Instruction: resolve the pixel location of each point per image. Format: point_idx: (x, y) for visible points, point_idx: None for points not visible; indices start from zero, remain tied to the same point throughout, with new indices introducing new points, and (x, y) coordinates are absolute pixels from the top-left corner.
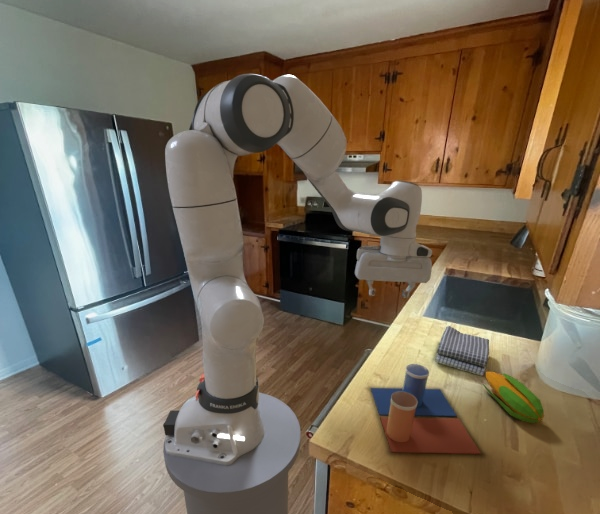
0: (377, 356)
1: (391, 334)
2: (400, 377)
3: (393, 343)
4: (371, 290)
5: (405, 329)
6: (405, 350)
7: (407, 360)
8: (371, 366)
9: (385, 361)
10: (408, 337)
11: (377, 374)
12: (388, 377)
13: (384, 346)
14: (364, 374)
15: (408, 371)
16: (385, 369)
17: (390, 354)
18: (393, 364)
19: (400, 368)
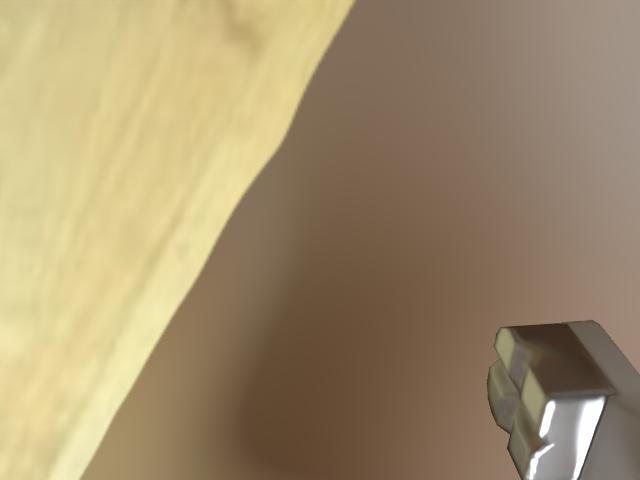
0: (213, 216)
1: (107, 420)
2: (107, 11)
3: (106, 343)
4: (631, 381)
5: (25, 471)
6: (46, 286)
7: (44, 191)
8: (262, 116)
9: (175, 171)
10: (16, 405)
11: (241, 37)
12: (180, 8)
13: (160, 311)
14: (316, 33)
15: None
16: (186, 91)
17: (137, 241)
18: (132, 145)
19: (96, 107)
